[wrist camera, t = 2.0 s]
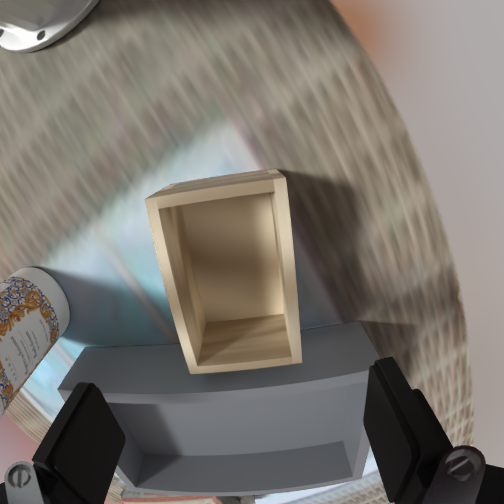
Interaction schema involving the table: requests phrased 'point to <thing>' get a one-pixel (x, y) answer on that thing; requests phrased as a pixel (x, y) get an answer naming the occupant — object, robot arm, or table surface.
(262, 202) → the pine crate
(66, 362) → the table surface
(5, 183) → the table surface
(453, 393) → the table surface
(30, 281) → the bath foam
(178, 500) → the packaged product
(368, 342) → the charcoal crate
